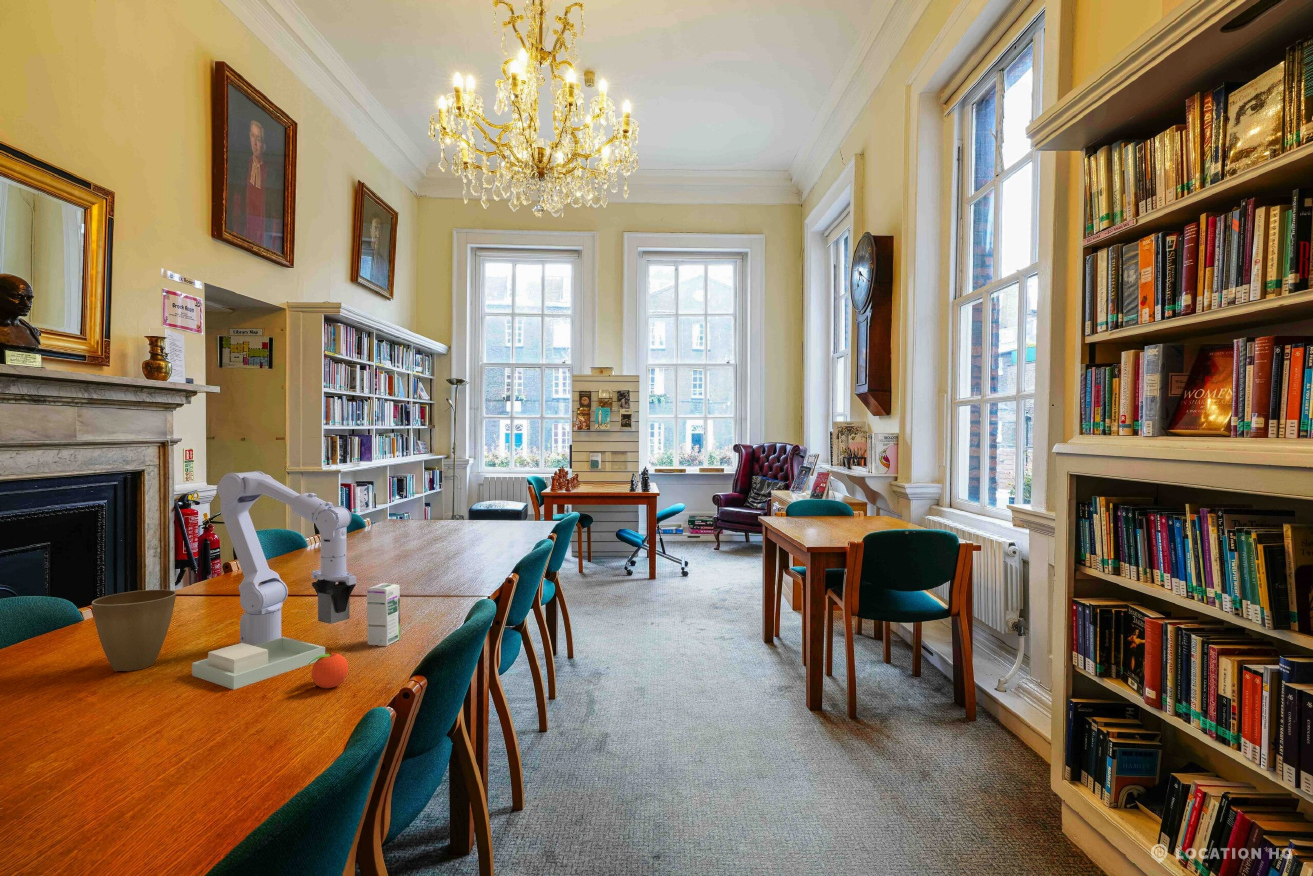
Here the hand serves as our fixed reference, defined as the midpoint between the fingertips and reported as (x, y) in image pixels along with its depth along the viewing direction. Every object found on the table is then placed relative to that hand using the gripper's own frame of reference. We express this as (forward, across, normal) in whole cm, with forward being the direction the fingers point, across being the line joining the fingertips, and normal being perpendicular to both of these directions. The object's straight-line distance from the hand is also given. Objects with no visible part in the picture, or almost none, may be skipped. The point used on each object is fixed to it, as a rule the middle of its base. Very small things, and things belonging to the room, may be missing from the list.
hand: (333, 610), depth 155 cm
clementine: (+10, +21, -16) cm, 28 cm away
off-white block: (+9, -1, -22) cm, 23 cm away
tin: (+2, 0, 0) cm, 2 cm away
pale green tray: (+9, -1, -17) cm, 19 cm away
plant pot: (+10, -29, -29) cm, 42 cm away
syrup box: (+10, +7, +9) cm, 15 cm away
